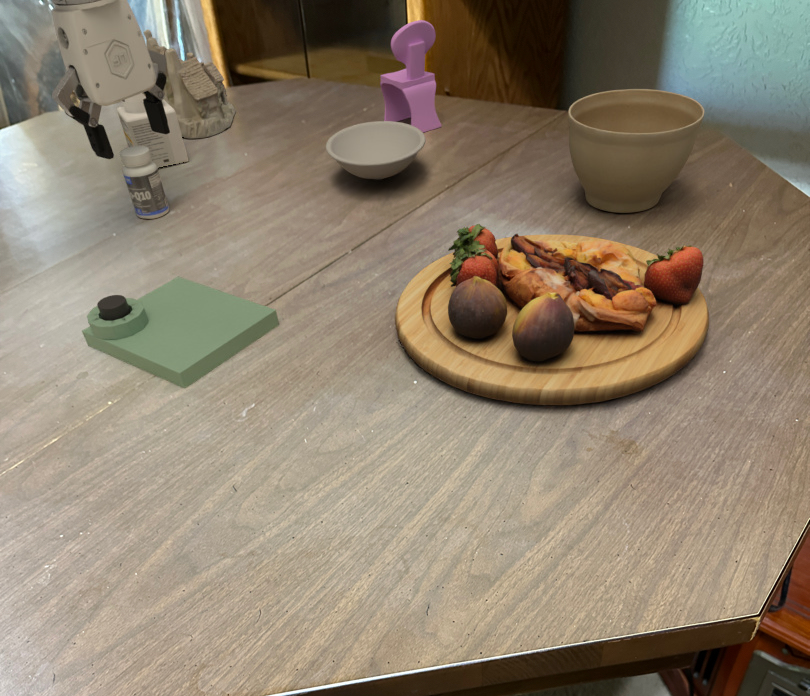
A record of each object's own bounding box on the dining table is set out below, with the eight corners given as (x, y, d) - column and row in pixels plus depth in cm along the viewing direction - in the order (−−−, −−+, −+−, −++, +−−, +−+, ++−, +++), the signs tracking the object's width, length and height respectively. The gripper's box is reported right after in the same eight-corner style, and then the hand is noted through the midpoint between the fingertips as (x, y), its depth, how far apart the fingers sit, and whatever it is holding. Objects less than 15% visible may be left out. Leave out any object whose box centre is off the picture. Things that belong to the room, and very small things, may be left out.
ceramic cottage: (188, 142, 123) (164, 36, 113) (144, 127, 133) (118, 29, 123) (264, 123, 131) (247, 22, 121) (217, 111, 140) (198, 16, 130)
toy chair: (416, 113, 126) (411, 9, 115) (446, 125, 121) (444, 17, 110) (377, 125, 123) (368, 19, 112) (406, 137, 118) (399, 28, 107)
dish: (330, 160, 113) (326, 126, 110) (421, 152, 113) (419, 116, 110) (330, 206, 101) (325, 168, 98) (432, 196, 101) (430, 158, 98)
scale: (88, 346, 79) (75, 317, 77) (182, 291, 87) (174, 263, 84) (185, 389, 72) (174, 359, 70) (279, 325, 80) (273, 295, 77)
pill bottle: (130, 218, 103) (109, 155, 97) (148, 205, 106) (128, 143, 100) (158, 221, 102) (138, 157, 96) (176, 207, 105) (157, 145, 99)
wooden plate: (707, 262, 83) (726, 187, 77) (702, 431, 62) (727, 348, 56) (439, 244, 91) (436, 175, 85) (355, 390, 70) (345, 313, 64)
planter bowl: (551, 222, 93) (559, 129, 85) (570, 174, 103) (578, 87, 95) (682, 230, 89) (703, 133, 81) (688, 179, 99) (706, 89, 91)
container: (132, 159, 120) (103, 69, 111) (177, 148, 122) (152, 59, 113) (142, 173, 115) (113, 80, 106) (189, 162, 117) (164, 69, 108)
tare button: (96, 317, 77) (91, 304, 76) (118, 305, 79) (113, 292, 78) (114, 325, 76) (108, 311, 75) (136, 312, 77) (131, 298, 76)
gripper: (39, 8, 79) (100, 172, 91) (159, -27, 88) (199, 127, 100) (1, 4, 82) (64, 163, 95) (120, -29, 91) (164, 120, 104)
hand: (134, 144), depth 97 cm, fingers open, 9 cm apart
